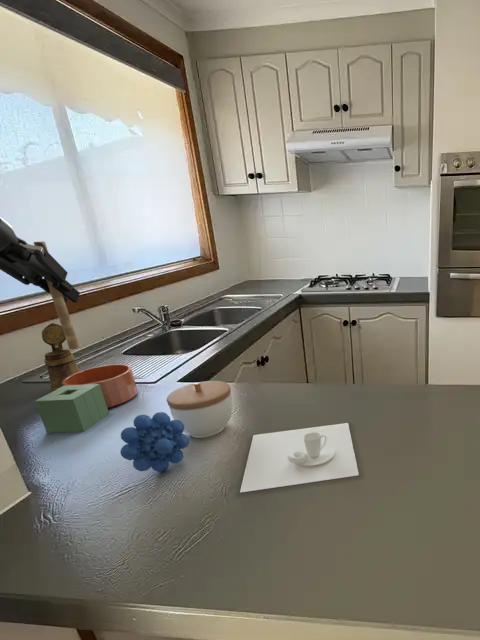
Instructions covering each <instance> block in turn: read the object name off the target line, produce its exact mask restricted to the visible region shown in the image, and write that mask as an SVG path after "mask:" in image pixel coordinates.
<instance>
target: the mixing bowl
mask: <svg viewBox="0 0 480 640" xmlns="http://www.w3.org/2000/svg"><path fill="white" fill-rule="evenodd" d="M62 384H63V386H65V385H87V384H100V387H101V390H102V393H103V396H104V399H105V402H106V405H107V409H109V408H113V407H116V406H119V405H121V404H124V403H126V402H128V401H130V400H132V399H133V398H134V397H135V396H137V394H138V393H139V390H138V387H137V383H136V378H135V377H134V373H133V369H132V366H131V365H129V364H126V363H125V364H124V363H123V364H122V363H115V364H114V363H113V364H105V365H99V366H94V367H89V368H87V369H82V370H80V372H77V373H74V374H72V375H70V376H68V377H66V378H65V379H64V380H63V381H62Z"/></svg>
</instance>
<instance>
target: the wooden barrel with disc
mask: <svg viewBox="0 0 480 640" xmlns="http://www.w3.org/2000/svg"><path fill="white" fill-rule="evenodd" d="M41 338H42V341H43V342H44V343H45V344H47V345H49V346H50V347H51V351H49V352H45V354H44V365H45V366H46V368H47V374H48V379H49V384H50V387H49V388H50V391H51V392H53V391H55V390H57V389H59V388H60V387H62V386H63V384H62V381H63V380H64V379H65V378H66V377H68V376H70V375H72V374H74V373H77V372H80V371H81V369H80V368H79V365H78V364H77V362H76V360H75V356H74V354H73V352H71V349H69V348H68V349H64V347H63V343H64V342H65V341H67V340H66V337H65V334H64V331H63V328H62V326H61V324H58V323H54V322H52V323H49V324H48V325H47V326H45V327H44V329H42V331H41Z"/></svg>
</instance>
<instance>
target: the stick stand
mask: <svg viewBox="0 0 480 640" xmlns="http://www.w3.org/2000/svg"><path fill="white" fill-rule="evenodd" d="M34 403H35V406H36V409H37V411H38V415H39V416H40V420H41V421H42V424H43V426H44V430H45V433H47V434H51V433H53V434H55V433H79V432H86V431H88V429H90V428H91V427H93V426H94V425H96V424H97V423H98V422H100V421H101V420H103V419H104V418H105V417H107V416H108V415H110V412H109V408H107V405H106V402H105V399H104V396H103V393H102V390H101V387H100V384H87V385H65V386H62V387H60V388H59V389H57V390H55V391H53V392H52V391H51V392H49V393H48V394H45V395H44V396H42V397H40V398H38V399H36V400H34Z"/></svg>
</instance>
